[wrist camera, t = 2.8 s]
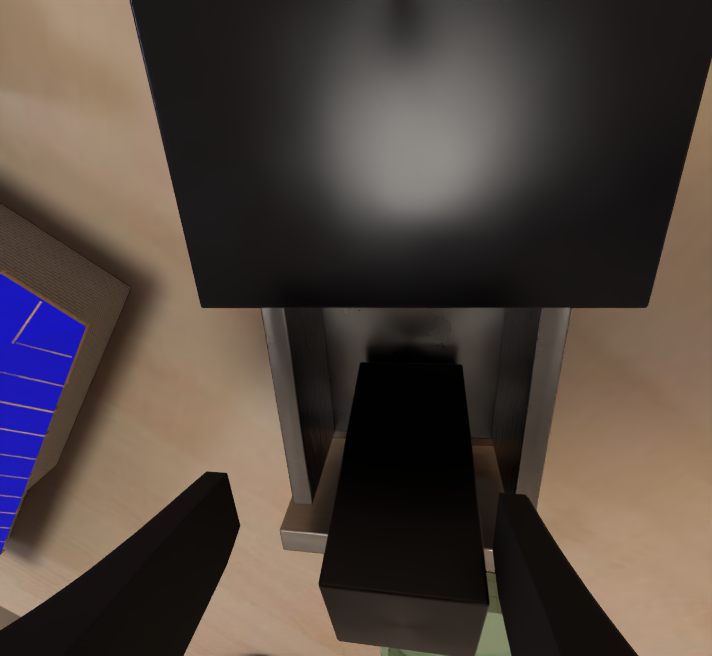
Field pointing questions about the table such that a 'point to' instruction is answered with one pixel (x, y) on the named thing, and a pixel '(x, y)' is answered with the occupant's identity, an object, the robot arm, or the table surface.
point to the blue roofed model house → (45, 351)
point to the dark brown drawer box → (425, 146)
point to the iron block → (407, 516)
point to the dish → (493, 639)
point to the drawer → (413, 345)
